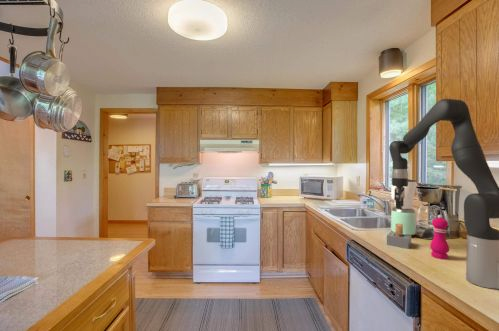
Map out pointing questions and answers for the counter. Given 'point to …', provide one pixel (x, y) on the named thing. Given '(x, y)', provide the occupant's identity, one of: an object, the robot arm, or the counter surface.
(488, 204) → the robot arm
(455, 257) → the counter surface
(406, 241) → the socket block
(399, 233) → the peg
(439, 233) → the pepper mill
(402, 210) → the juicer
